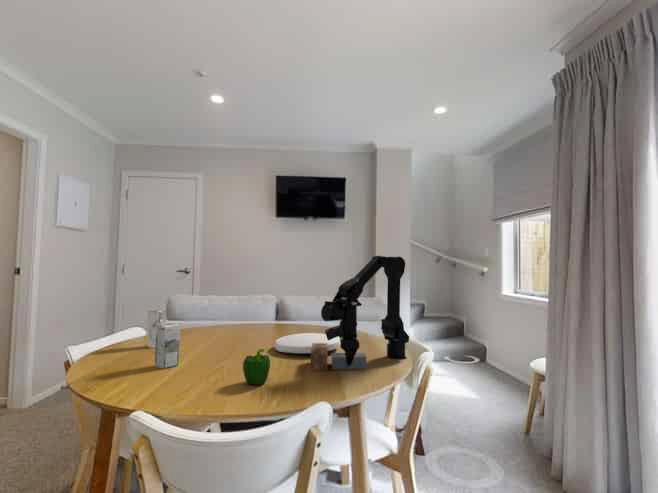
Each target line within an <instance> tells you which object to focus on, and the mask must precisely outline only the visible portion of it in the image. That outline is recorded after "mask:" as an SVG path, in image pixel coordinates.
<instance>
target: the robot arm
mask: <svg viewBox="0 0 658 493" xmlns="http://www.w3.org/2000/svg"><path fill="white" fill-rule="evenodd" d="M382 268H383V272H384V274H385V276H386V278H387V292H386V293H387V297H386V298H387V301H386V302H387V303H386V304H387V305H386V316H385V317H384V318H381V320H380V321H381V327H380V330H381V333H382V334H383V337H384V340H385V341H387V344H386V355H387V356H388V358H389V359H407V356H406V343H409V342H410V335H409V334H408V333H407V332H406V331H405V327H404V321H403V319H402V317H401V313H400V312H401V310H400V309H401V279H402V277H403V275H404V274H405V269H406V260H405V259H404V258H403V257H402V256H383V255H374V256H372V258H371V259H370V260H369V262H367V263H366V264H365V265H364V266H363V268H361V269H360V271H359V272H358V273H357V274H356V275H355V276H354V277H352V278H350V279H347V280H346V281H344V282H343V283H342V284H340V285H339V287H338V290H337V292H336V294H335V296H334V298H333V299H332V301H330V300H329V301H328V300H326V301H324V305H323V306H322V308H321V310H320V314H321V316H320V317H321V318H322V320H323V321H324V322H332V321H339V324H338V325H335V326H332V327H329V328H327V329H325V330H324V334H326V336H327V339H328V340H331V339H333V338H335V337H339V338H340V342H341V343H340V349H342V350H343V351H344V353H345V354H346V360H347V365H348V366H350V365H351V363H352V361H353V358H354V356H355V354H356V353H358V352H357V351H358V349H360V341H359V339H358V334H357V330H358V329H357V328H358V322H357V317H358V313H357V310H358V307H361V306H362V302H360V301H359V300H358V299H359V298H360V296H361V294H362V293H363V291H364V287H365V285H366V284H367V283H368V282H369V281H370V280H371V279H372V278H373V277H374V276H375V275H376V274H377V273H378V271H379V270H381V269H382Z"/></svg>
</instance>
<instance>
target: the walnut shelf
mask: <svg viewBox="0 0 658 493" xmlns="http://www.w3.org/2000/svg"><path fill="white" fill-rule="evenodd" d="M310 372H328V343H312V348H311V353H310Z"/></svg>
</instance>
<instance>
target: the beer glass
mask: <svg viewBox="0 0 658 493" xmlns="http://www.w3.org/2000/svg"><path fill="white" fill-rule="evenodd" d="M165 312H166V310H159V309H158V310H149V311H147V317H146V327H147V334H148V341H147V346H146V347H147V348H149V349H156V328H157V325H163V324H166V315H165Z"/></svg>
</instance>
